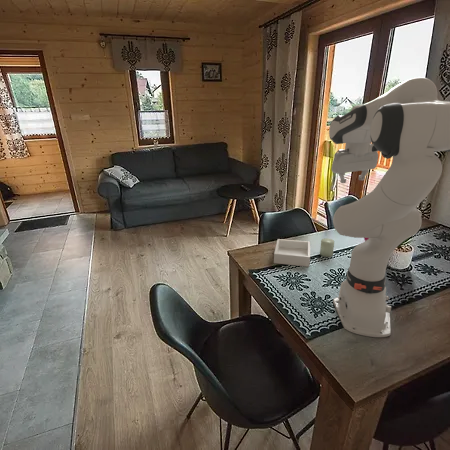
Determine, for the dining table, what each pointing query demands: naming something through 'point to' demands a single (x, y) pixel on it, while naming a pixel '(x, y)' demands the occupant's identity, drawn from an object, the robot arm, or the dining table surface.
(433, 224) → the dining table surface
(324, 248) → the pale green rounded block
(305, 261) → the bin
